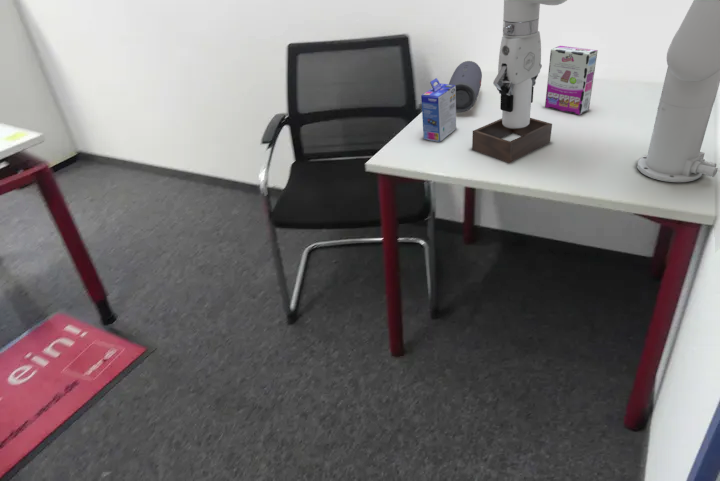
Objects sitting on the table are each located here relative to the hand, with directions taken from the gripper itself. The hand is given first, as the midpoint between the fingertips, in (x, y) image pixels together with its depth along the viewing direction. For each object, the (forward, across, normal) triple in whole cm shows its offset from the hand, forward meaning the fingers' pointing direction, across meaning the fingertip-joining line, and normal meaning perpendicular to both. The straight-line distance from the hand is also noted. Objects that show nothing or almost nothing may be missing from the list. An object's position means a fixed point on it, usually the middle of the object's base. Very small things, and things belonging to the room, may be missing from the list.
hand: (516, 105), depth 128 cm
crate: (+10, 0, +1) cm, 11 cm away
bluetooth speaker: (+10, +16, +31) cm, 36 cm away
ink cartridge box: (+10, -6, +20) cm, 23 cm away
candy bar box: (+11, +30, +6) cm, 32 cm away
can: (+5, 0, 0) cm, 5 cm away
